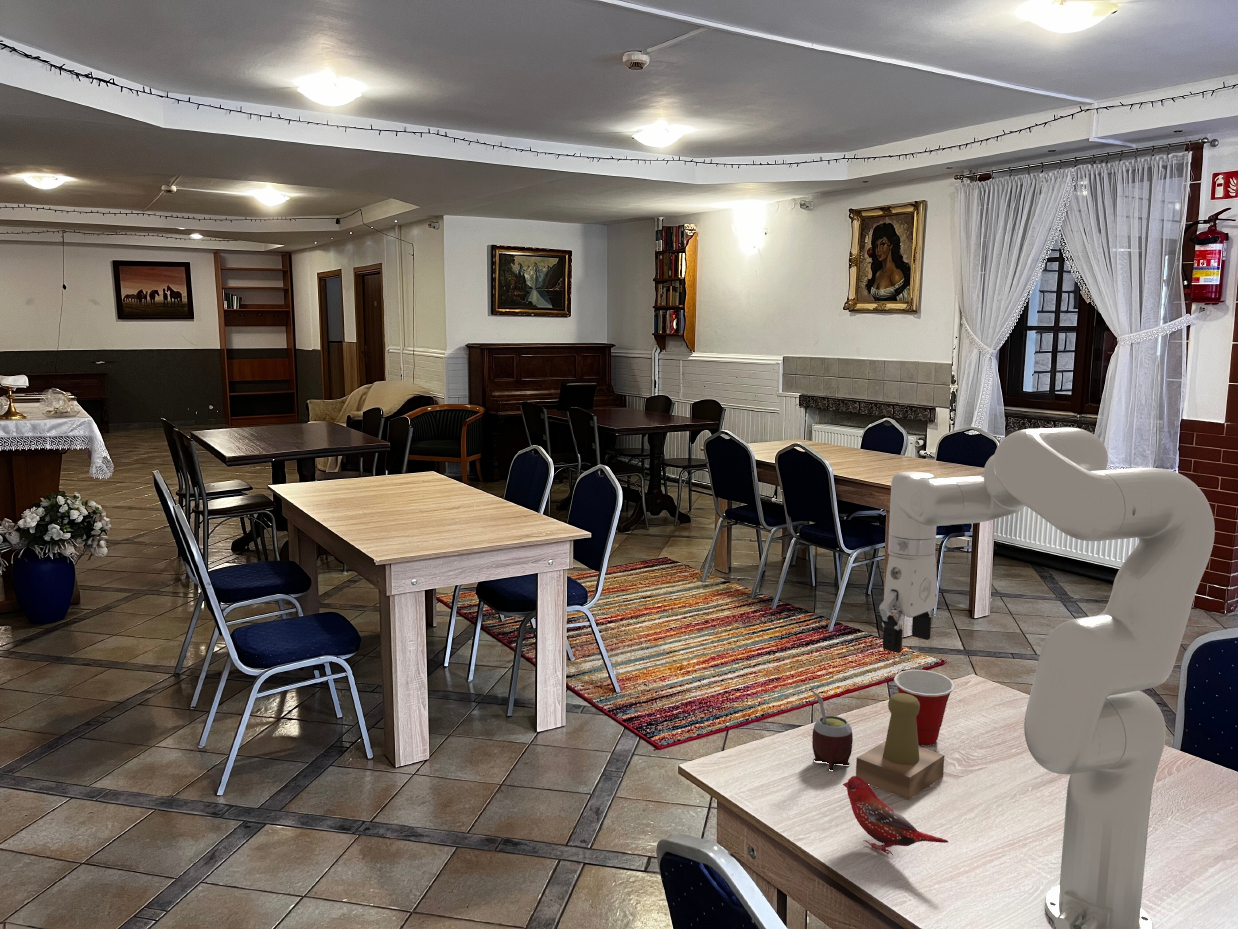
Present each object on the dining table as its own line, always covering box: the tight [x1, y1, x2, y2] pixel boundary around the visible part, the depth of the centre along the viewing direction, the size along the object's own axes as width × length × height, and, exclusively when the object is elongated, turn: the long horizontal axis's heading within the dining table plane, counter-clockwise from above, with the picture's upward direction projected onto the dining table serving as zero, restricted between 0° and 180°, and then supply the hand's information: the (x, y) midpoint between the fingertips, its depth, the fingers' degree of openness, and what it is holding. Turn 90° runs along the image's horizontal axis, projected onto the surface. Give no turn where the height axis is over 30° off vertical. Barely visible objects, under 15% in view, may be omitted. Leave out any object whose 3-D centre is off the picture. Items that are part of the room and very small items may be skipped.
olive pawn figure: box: [883, 693, 920, 765], centre depth 159 cm, size 6×6×11 cm
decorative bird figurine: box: [842, 775, 949, 856], centre depth 135 cm, size 3×18×10 cm, turn 41°
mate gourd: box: [810, 689, 854, 771], centre depth 164 cm, size 8×8×15 cm
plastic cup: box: [893, 669, 955, 747], centre depth 175 cm, size 11×11×12 cm
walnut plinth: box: [855, 740, 945, 801], centre depth 160 cm, size 12×10×4 cm
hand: (906, 644), depth 157 cm, fingers open, 9 cm apart
